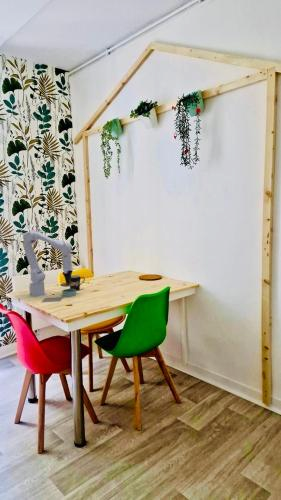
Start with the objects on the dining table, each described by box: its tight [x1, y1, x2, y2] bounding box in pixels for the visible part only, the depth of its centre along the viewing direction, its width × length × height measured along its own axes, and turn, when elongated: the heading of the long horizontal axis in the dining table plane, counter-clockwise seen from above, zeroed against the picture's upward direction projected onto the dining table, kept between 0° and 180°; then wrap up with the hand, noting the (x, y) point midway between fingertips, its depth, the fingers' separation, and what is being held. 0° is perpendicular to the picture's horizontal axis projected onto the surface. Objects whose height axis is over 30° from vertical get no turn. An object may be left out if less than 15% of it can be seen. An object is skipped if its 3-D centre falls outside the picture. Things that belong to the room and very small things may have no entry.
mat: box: [41, 296, 64, 303], centre depth 215 cm, size 12×10×1 cm
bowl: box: [61, 288, 77, 298], centre depth 225 cm, size 9×9×4 cm
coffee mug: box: [69, 274, 85, 292], centre depth 240 cm, size 12×9×10 cm
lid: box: [60, 282, 76, 288], centre depth 224 cm, size 10×10×5 cm
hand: (68, 281), depth 224 cm, fingers closed on lid, 3 cm apart
